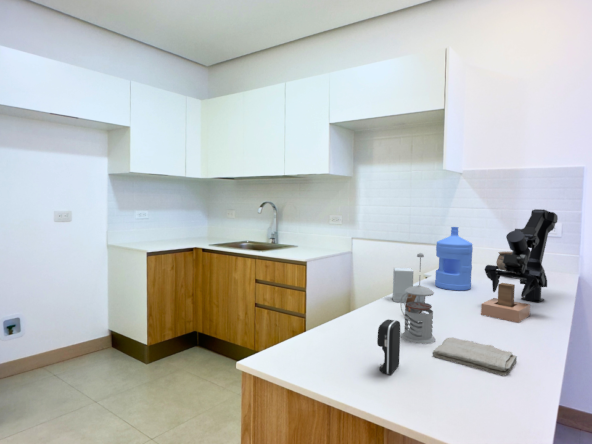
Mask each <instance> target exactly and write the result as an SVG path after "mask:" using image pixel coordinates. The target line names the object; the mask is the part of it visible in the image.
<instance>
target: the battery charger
mask: <svg viewBox="0 0 592 444" xmlns="http://www.w3.org/2000/svg"><path fill="white" fill-rule="evenodd" d="M377 329H378V330H377V341H376V342H377V343H376V344H377V346H378V347H381V349H382V351H383V353H384V355H383V356H384V359H383V361H384V362H383V364H382V365H381V366H380V367H379V371H380V372H382V373H384V374H387V375H392V374H393V373H394V372H395V371H396V369H397V368H398V366H399V365H400V349H401V348H400V346H401V345H400V344H401V322H400V320H396V319H385V320H384V321H383V322H381V323H380V325H379V326H378V328H377Z"/></svg>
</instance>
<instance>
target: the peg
mask: <svg viewBox="0 0 592 444" xmlns="http://www.w3.org/2000/svg"><path fill="white" fill-rule="evenodd" d="M515 286H516V285H515V284H513V283H508V282H501V283H498V286H497V299H498V305H502V306H508V307H514V302H515V288H516V287H515Z"/></svg>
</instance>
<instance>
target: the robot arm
mask: <svg viewBox="0 0 592 444" xmlns="http://www.w3.org/2000/svg"><path fill="white" fill-rule="evenodd" d="M557 223H558V214H556V213H555V212H553V211H549V210H547V209H536V208H534V209H532V210H531V215H530V217H529V219H528V221H527V222H526V224H525V226H524V227H523V228H514V230H512V231H510V232H508V233H507V234H506V235H505V236H506V240H507V244H508V246H509V249H510V251H511V252H512V254H511V255H510V254H504V259H503V263H504V264H505V265H504V267H505V268H506V270H500V269H499V268H498V266H497V265H493V264H486V265H485V267H484V272H485V274H486V276H487V279H489V280H490V281H491V285H492V292H493V293H495V292H496V291H497V290H498V284H500V278H501V276H502V277H509V278H515V279H519V285H524V286H523V289H522V290H521V294H520V295H521V298H520V299H521V300H523V301H528V302H534V303H541V302H543V301H545V298H542V288H548V279H547V276H546V272H545V269H544V267H543V263H542V262H543V259H544V254H545V248H546V246H547V241H548V236H549V233H550V232H551V231H553V230H554V229H555V227H556V224H557ZM528 259H529V260H528Z"/></svg>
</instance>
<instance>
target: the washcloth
mask: <svg viewBox="0 0 592 444" xmlns="http://www.w3.org/2000/svg"><path fill="white" fill-rule="evenodd" d="M432 357H434V358H437V359H440V360H445V361H448V362H452V363H456V364H460V365H462V366H467V367H471V368H475V369H478V370H483V371H485V372H489V373H492V374H496V375H500V376H504V377H506V376H507V374H510V372H511V371H512V368H513V367H514V365H515V364H516V362H517V357H518V356H517V355H515V354H513V352H512V351H509V350H508V351H506V350H502V349H501V348H497V347H495V346H494V345H492V344H483V343H478V342H476V341H475V342H474V341H472V340H466V339H460V338H456V337H446V338H445V339H444V340H443V342H442V343H441V344H440V345H438V346H437V347H435V348H434V350H433V351H432Z"/></svg>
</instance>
